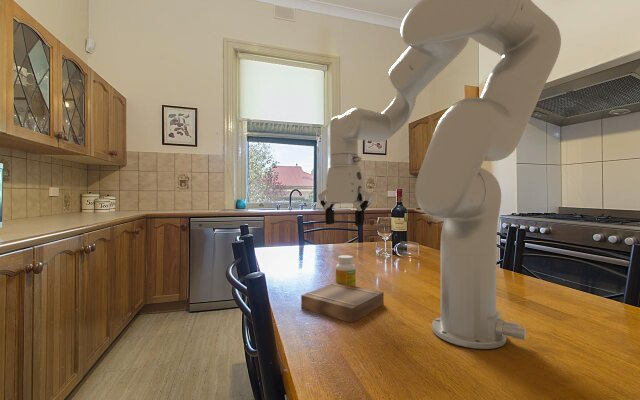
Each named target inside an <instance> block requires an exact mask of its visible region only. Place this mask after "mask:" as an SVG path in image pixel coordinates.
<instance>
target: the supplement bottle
mask: <svg viewBox="0 0 640 400" xmlns="http://www.w3.org/2000/svg"><path fill="white" fill-rule="evenodd" d="M337 260H338V261H337V262H338V263H337V264H336V265H335V283H341V284H346V285H351V286H356V280H357V279H356V277H357V275H356V271H357V269H356V265H355V264H354V263H353V261H354V256H353V255H347V254H345V255H338V258H337ZM356 287H357V286H356Z"/></svg>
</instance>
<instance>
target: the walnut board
mask: <svg viewBox="0 0 640 400" xmlns="http://www.w3.org/2000/svg"><path fill="white" fill-rule="evenodd" d="M384 294H385V293H384V291H379V290H375V289H371V288H364V287H360V286H351V285H346V284H341V283H336V282H334V283H331V284H329V285H326V286H322V287H320V288H317V289H314V290H312V291H310V292H305V293H303V294H301V296H300V298H301V303H300V304H301V305H300V307H301V309H303V310H307V311H310V312H314V313H316V314H320V315H323V316H327V317H330V318H333V319H338V320H341V321H344V322H348V323H354V322H356V321H358V320H359V319H361V318H363V317H364V316H367V315H368V314H370V313H371V312H373V311H375V310H377V309H379V308H380V307H382V306H384V305H385V303H384Z"/></svg>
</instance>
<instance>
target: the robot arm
mask: <svg viewBox="0 0 640 400" xmlns="http://www.w3.org/2000/svg"><path fill="white" fill-rule="evenodd" d="M561 35H562V34H561V32H560V29H559V27H558V24H557V23H556V22H555V20H553V18H551V16H550V15H548V14H547V13H546V12H544V11H543V10H542V9H541V8H540V7H539V6H537V5H536V3H534V2H533V0H420V1H418V2H417V3H415V4H414V5H413V6H412V7H411V8H410V9H409V11H408V12H407V13H406V15H405V16H404V18H403V20H402V22H401V26H400V36H401V39H402V41H403V43H404V44H405V45H406V46H408V48H407V49H406V50H405V51H404V52H403V53H402V54H401V55H400V57H399V58H398V59H397V60H396V61H395V63H394V64H393V65H392V66H391V67H390V69H389V71H388V77H389V80H390V83H391V84H392V86H393V88H394V89H395V90H396V93H395V96H394V99H393V100H392V101H391V103H390V104H389V105H388V106H387V107H386V108H385V109H384V110H383V111H382V112H378V111H373V110H368V109H366V108H365V109H364V108H361V107H354V108H351V109H349V110H347V111H346V112H345V113H344V114H342V115H337V116H334V117H332V118H331V119H330V122H329V126H330V127H329V145H330V146H329V160H330V162H329V166H330V167H328V170H327V177H326V183H325V185H326V186H325V189H324V190H323V191H322V192H320V193H318V195H317V197H318V199H319V202H320V205H321V206H322V208H323V210H324V211H325V214H324V215H325V225H333V224H335V210H334V209H333V208H334V207H335V205H336V204H352V205H353V206H354V207H355V208H356V210H355V212H354V226H356V227H363V226H364V223H365V211H366V210H367V208H368V207H369V206H370V204H371V201H372V199H373V197H374V193H372V192H370V191H368V190H366V189H365V185H364V178H363V177H364V176H363V173H362V167H361V166H359V162H362V156H359V154H358V153H359V151H358V150H359V149H358V146H359V143H358V142H359V141H358V140H360V141H368V142H374V143H382V142H386V141H387V140H389V139H391V138H392V137H393V136H394V135H395V134H396V133H397V132H399V131H400V129H402V128H404V126H405V125H406V123H408V121H409V119H410V117H411V116H412V113H413V111H414V108H415V107H416V106H415V105H416V102H417V97H418V95H420V94H421V92H423V90H425V88H427V87H428V86H429V84H430V83H432V81H433V80H434V79H435V78H436V77H438V75H439V74H441V73H442V71H444V70H445V68H447V67H448V66H449V65H450V64H451V63H452V61H454V59H456V58H457V57H458V56H459V55H460V54H461V52H462V51H464V49H465V48H466V46H467V44H468V43H469V40H470V39H472V40H473V41H475V42H477V43H478V44H480V45H482V46H483V47H484V48H487V49H488V50H490V51H492V52H494V53H495V54H498V55H499V56H500V60H499V61H498V63H497V64H496V65H495V66H494V67H493V69H492V70H491V72H490V73H489V75H488V78H487V80H486V82H485V85H484V86H483V90H482V92H481V95H480V96H479V97H467V98H463V99H461V100H459V101H457V102H455V103H453V104H452V105H451V106H450V107H449V108H448V109H447V110H446V111H445V112H444V113H443V114H442V116H441V117H440V119H439V120H438V122H437V124H436V127H435V129H434V131H433V133H432V137H431V140H430V143H429V145H428V147H427V150H426V153H425V155H424V158H423V161H422V164H421V166H420V169H419V172H418V174H417V177H416V181H415V187H414V195H415V196H414V197H415V201H416V203H417V205H418V207H419V208H420V210H421V211H422V212H424V213H425V214H426V215H427V216H429V217H432V218H436V219H444V220H443V223H442V227H441V233H440V316H439V317H437V318H435V319H434V320H433V321H432V323H431V329H432V332H433V333H434V334H435V336H437V337H439V338H440V339H442V340H443V341H445V342H448V343H451V344H452V345H456V346H459V347H464V348H469V349H475V350H476V349H477V350H478V349H479V350H490V349H497V348H500V347H502V346H504V345H505V344H506V343H507V337H512V338H513V339H518V340H522V341H526V335H527V333H526V332H527V330H526V328H525V327H521V326H520V323H518V322H513V321H506V320H505V319H504V318H502V317H501V315H502V314H501V311H500V310H497V254H498V253H497V252H498V251H497V249H498V244H497V243H498V241H497V240H498V225H499V224H498V223H499V215H500V210H501V205H502V190H501V185H500V183H499V181H498V180H497V178H496V176H494V174H492V173H491V171H489V170H487V169H486V168H483V167H482V166H483V163H484V162H498V161H502V160H504V159H507V158H508V157H509V156H510V155H512V154H513V153H514V152H515V150H516V148H517V147H518V146H519V143H520V141H521V139H522V137H523V135H524V132H525V130H526V127H527V126H528V123H529V122H530V119H531V117H532V114H533V113H534V111H535V108H536V106H537V104H538V101H539V98H540V97H541V93H543V89H544V87H545V86H546V83H547V81H548V79H549V77H550V75H551V72H552V71H553V69H554V68H555V67H554V66H555V65H556V62H557V60H558V57H559V54H560V51H561V45H562V38H561V37H562V36H561Z"/></svg>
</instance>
